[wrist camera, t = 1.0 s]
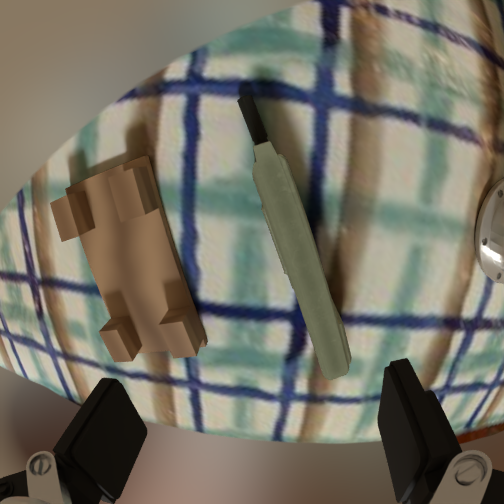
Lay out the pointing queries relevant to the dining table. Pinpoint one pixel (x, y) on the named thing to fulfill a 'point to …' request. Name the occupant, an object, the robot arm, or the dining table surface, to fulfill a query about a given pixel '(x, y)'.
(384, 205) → the dining table surface
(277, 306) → the dining table surface
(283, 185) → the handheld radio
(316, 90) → the dining table surface
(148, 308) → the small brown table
